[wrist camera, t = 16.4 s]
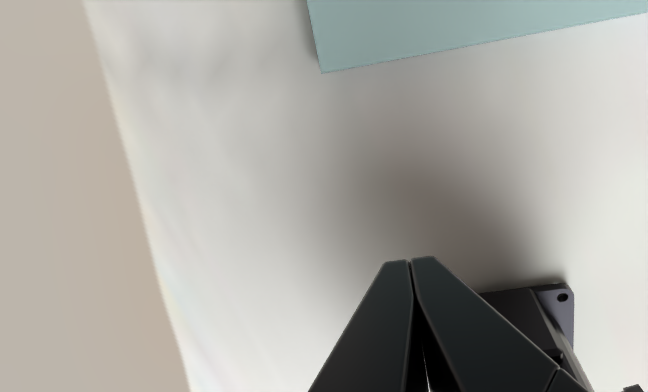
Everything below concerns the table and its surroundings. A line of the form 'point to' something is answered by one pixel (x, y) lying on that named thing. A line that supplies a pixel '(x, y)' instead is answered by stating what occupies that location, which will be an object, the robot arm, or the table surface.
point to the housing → (441, 25)
